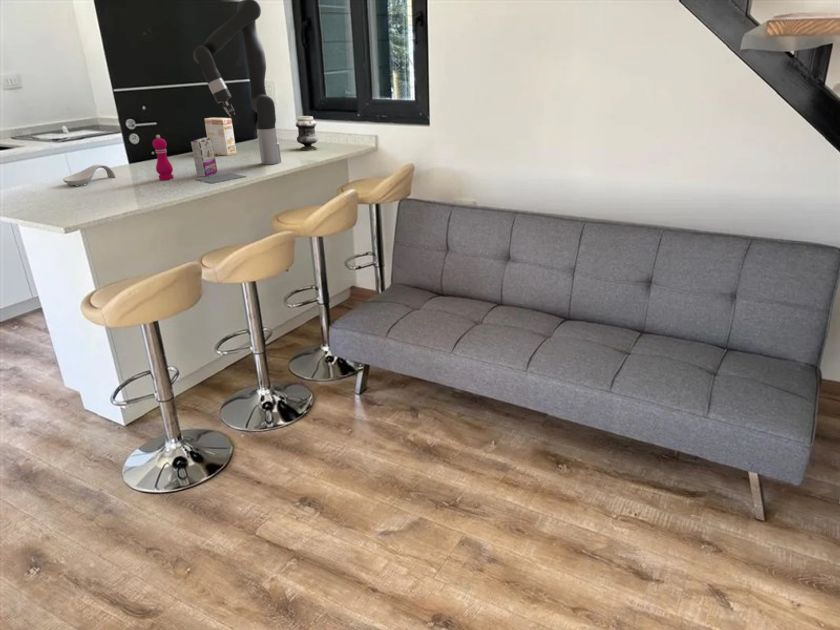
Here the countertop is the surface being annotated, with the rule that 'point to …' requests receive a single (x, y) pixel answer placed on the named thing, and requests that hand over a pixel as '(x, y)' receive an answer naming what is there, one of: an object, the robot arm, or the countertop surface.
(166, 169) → the pepper mill
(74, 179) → the spoon rest
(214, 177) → the rubber mat
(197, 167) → the candy bar box
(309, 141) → the apothecary jar
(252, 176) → the countertop surface
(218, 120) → the coffeecake box
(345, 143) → the countertop surface
